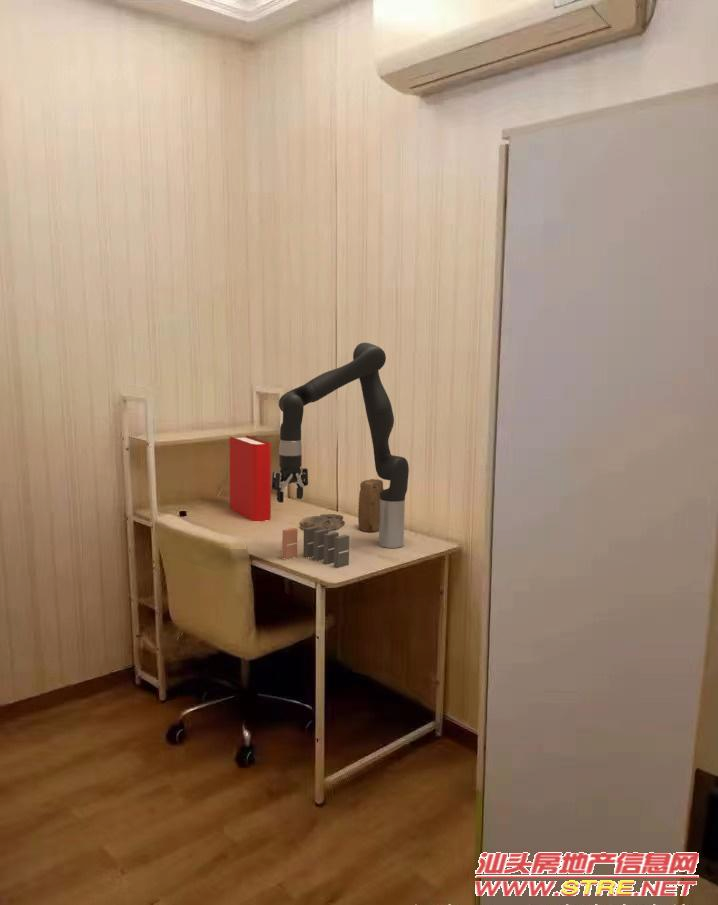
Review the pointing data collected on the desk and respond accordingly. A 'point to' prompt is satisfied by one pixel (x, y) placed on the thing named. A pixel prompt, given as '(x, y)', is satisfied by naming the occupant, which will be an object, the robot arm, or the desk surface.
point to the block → (369, 504)
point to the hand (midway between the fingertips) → (290, 500)
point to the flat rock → (323, 522)
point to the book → (250, 477)
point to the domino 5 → (341, 551)
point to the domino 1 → (289, 543)
